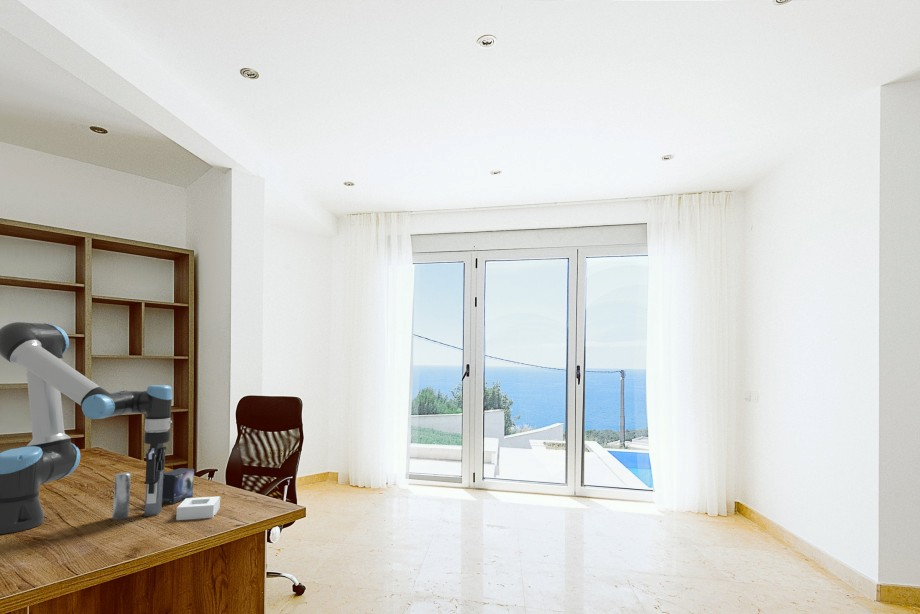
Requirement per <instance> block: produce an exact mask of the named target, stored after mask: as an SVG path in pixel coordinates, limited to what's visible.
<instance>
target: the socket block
mask: <svg viewBox="0 0 920 614" xmlns="http://www.w3.org/2000/svg"><path fill="white" fill-rule="evenodd" d="M220 507H221V496H219V495H218V496H203V497H191V498H186V499H185V500H182V501H181V502H180V504H179V505H178V506H177V507H176V516H175V518H176V519H175V520H176V521H185V520H187V521H188V520H199V519H213V518H214V517H215V516H216V515H217V513H218V512H219V510H220ZM214 515H215V516H214Z"/></svg>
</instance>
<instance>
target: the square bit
mask: <svg viewBox="0 0 920 614" xmlns="http://www.w3.org/2000/svg"><path fill="white" fill-rule="evenodd" d="M163 473H165V469H164V470H158V471H157V480H156V483H157V499H156V503H150V504H147V487H148V484H145V495H144V496H145V498H144V499H145V501H144V515H143V516H144V517H146V516H158V515H160V514H161V513H162V508H163V506H162V505H163V503H162V492H163Z"/></svg>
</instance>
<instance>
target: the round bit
mask: <svg viewBox="0 0 920 614" xmlns="http://www.w3.org/2000/svg"><path fill="white" fill-rule="evenodd" d="M131 478H132V473H131V472H120V473H116V474H115V475H114V489H113V502H112V503H113V505H112V506H113V508H112V520H115V521H118V520H124V519H127V518H129V515H130V514H129V513H130V499H131V498H130V497H131V482H132V481H131Z"/></svg>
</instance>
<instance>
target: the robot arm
mask: <svg viewBox="0 0 920 614" xmlns="http://www.w3.org/2000/svg"><path fill="white" fill-rule="evenodd" d="M69 346H70V339H69V336H68V334H67V332H66V331H65V330H64V329H62V328H61V327H60V326H58V325H54V324H50V323H45V322H44V323H39V322H38V323H36V322H33V323H32V322H25V321H21V322H20V321H17V322H11V323H8V324H5V325H3V326H2V327H0V356H1V357H2V358H3V359H5V360H6V361H7V362H10V363H11V364H12V365H14V366H21V367H23V368H25V371H26V380H27V390H28V392H27V393H28V402H29V411H30V422H31V424H30V425H31V435H32V439H31V440H30V441H29V443H28V444H27V445H26V446H21V447H18V448H10V449H7V450H4V451H2V452H0V535H4V534H11V533H15V532H16V533H17V532H18V533H19V532H22V531H25V530H30V529H32V528H36V527H38V526H41V525H42V524H43V523H44V522H45V512H44V509H43V506H42V503H41V501H40V486H41V485H44V484H47V483H50V482H51V483H52V482H54V481H58V480H61V479H63V478H65V477H68V476H69V475H71V474H72V473H74V472H75V470H76V469H77V468H78V467H79V464H80V463H81V462H80V461H81V451H80V449H79V447H78V446H76V445H75V444H74V443H72V440H71V439H72V438H71V436H69V435H68V434H66V432H65V426H64V425H65V424H64V416H63V414H64V413H63V402H62V394H63V395H65V397H68V398H69V399H71V400H72V401H74V402H75V403H76V404H78V405H79V406H80V407H81V410H82V413H83V415H84V416H85V417H86V418H87V419H89V420H97V419H98V420H101V419H107V418H110V417H116V416H121V415H122V416H123V415H127V414H145V418H144V419H145V421H144V431H145V432H144V437H143V439H144V441H143V442H144V444H146V445H150V446H149V448H148V451H147V453H145V460H146V461H145V462H146V465H145V481H144V484H145V485H146V484H148V487H147V504H150V503H156V499H157V483H156V480H157V471H158V470H164V471H165V466H166V465H165V464H166V463H165V462H166V451H167V446H164V444H166V443H169V442H170V441H171V440H170V439H171V437H170V436H171V431H170V429H171V424H172V423H173V420H172V419H171V416H172V415H171V414H172V413H171V412H172V400H173V394H172V392H173V391H172V390H173V388H172V386H171V385H168V384H160V385H159V384H158V385H156V384H155V385H148V386H147V388H146V390H144V391H142V390H139V391H137V390H118V391H114V392H109V391H107V390H105V389H104V388H103V387H101V386H100V385H98V384H97V383H95V382H94V381H93V380H92V379H89V378H88V377H86V376H85V375H83V374H82V373H81V372H79V371H78V370H76V369H75V368H73V367H72V366H70V365H69V364H67V363H66V362H65V361H63V360H64V357H63V355H64V354H65V353H66V352H67V350H68V349H69ZM164 473H165V472H164ZM164 473H163V475H164ZM164 478H165V476H163V479H164Z"/></svg>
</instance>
